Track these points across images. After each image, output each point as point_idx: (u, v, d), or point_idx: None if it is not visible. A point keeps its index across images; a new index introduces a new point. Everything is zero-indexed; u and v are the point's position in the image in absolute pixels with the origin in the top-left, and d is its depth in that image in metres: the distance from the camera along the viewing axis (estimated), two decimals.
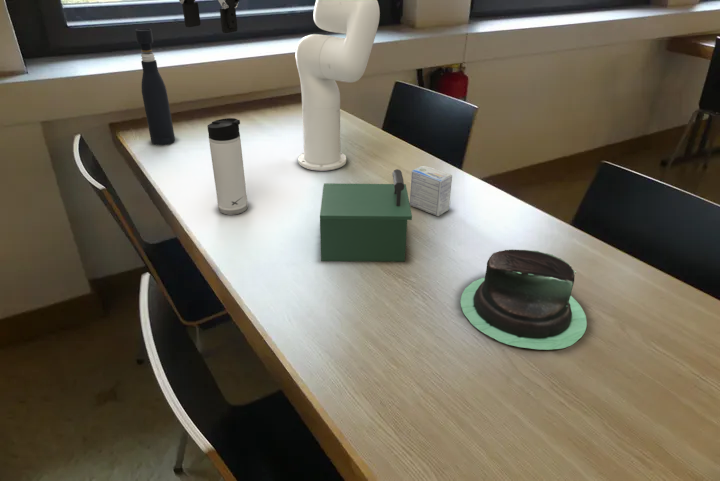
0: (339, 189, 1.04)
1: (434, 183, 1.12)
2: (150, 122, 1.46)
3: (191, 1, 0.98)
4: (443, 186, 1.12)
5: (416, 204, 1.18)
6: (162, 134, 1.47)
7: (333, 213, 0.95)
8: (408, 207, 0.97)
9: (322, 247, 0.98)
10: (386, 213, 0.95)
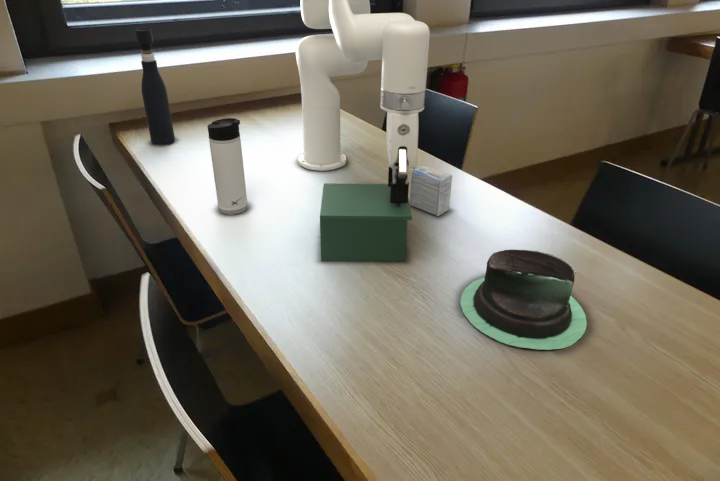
0: (339, 189, 1.04)
1: (434, 183, 1.12)
2: (150, 122, 1.46)
3: None
4: (443, 186, 1.12)
5: (416, 204, 1.18)
6: (162, 134, 1.47)
7: (333, 213, 0.95)
8: (408, 207, 0.97)
9: (322, 247, 0.98)
10: (386, 213, 0.95)
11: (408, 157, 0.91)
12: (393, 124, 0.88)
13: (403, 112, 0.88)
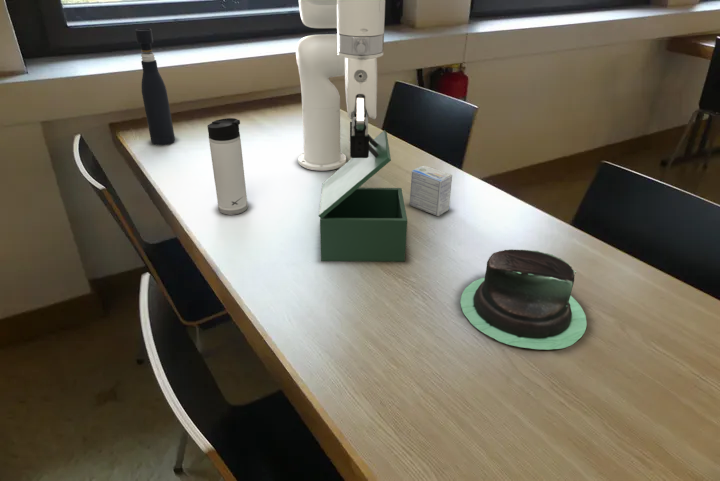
0: (333, 179, 1.02)
1: (434, 183, 1.12)
2: (150, 122, 1.46)
3: None
4: (443, 186, 1.12)
5: (416, 204, 1.18)
6: (162, 134, 1.47)
7: (328, 205, 0.94)
8: (385, 151, 0.92)
9: (322, 247, 0.98)
10: (368, 171, 0.91)
11: (366, 106, 0.86)
12: (349, 69, 0.84)
13: (360, 57, 0.83)
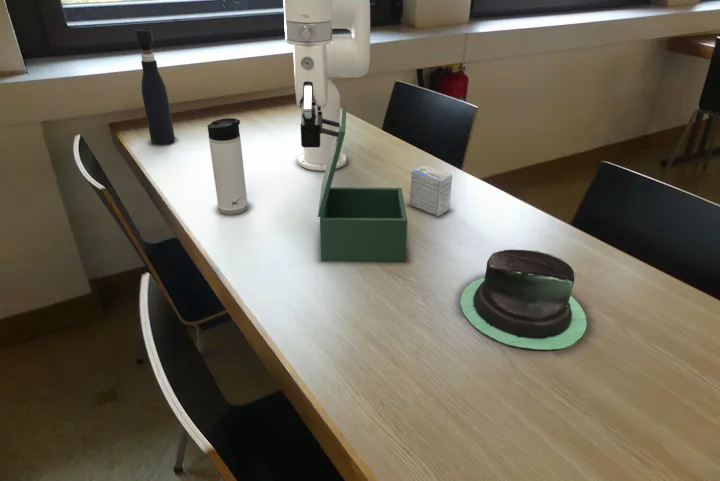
0: (324, 176, 1.02)
1: (434, 183, 1.12)
2: (150, 122, 1.46)
3: (313, 110, 0.95)
4: (443, 186, 1.12)
5: (416, 204, 1.18)
6: (162, 134, 1.47)
7: (321, 202, 0.94)
8: (340, 126, 0.89)
9: (322, 247, 0.98)
10: (334, 153, 0.89)
11: (315, 94, 0.85)
12: (296, 56, 0.83)
13: (306, 44, 0.82)
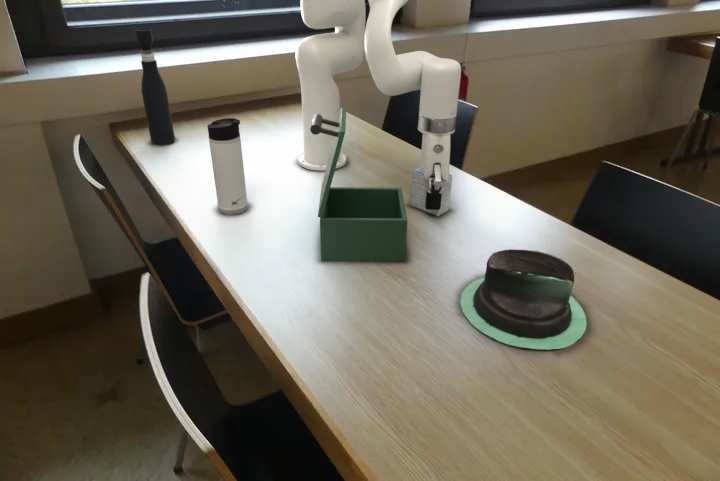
0: (324, 176, 1.02)
1: None
2: (150, 122, 1.46)
3: None
4: (443, 186, 1.12)
5: (416, 204, 1.18)
6: (162, 134, 1.47)
7: (321, 202, 0.94)
8: (340, 126, 0.89)
9: (322, 247, 0.98)
10: (334, 153, 0.89)
11: (442, 168, 1.08)
12: (429, 144, 1.06)
13: (438, 134, 1.06)
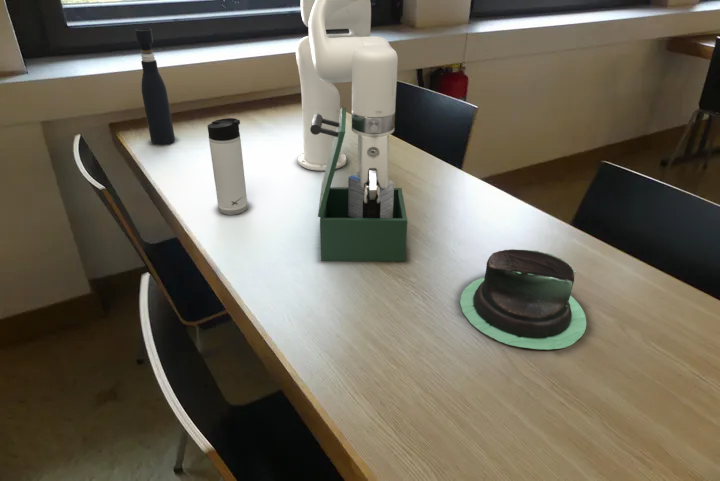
0: (324, 176, 1.02)
1: None
2: (150, 122, 1.46)
3: None
4: (382, 195, 0.96)
5: (355, 215, 1.02)
6: (162, 134, 1.47)
7: (321, 202, 0.94)
8: (340, 126, 0.89)
9: (322, 247, 0.98)
10: (334, 153, 0.89)
11: (378, 174, 0.92)
12: (363, 146, 0.90)
13: (373, 135, 0.90)
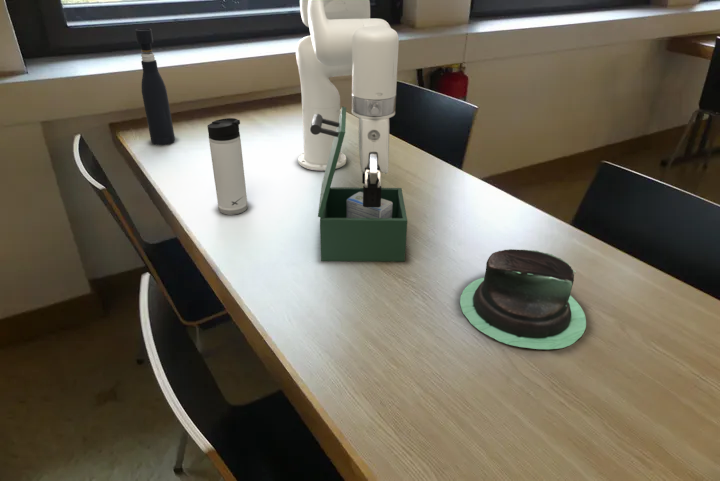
0: (324, 176, 1.02)
1: (373, 213, 0.98)
2: (150, 122, 1.46)
3: None
4: (383, 216, 0.98)
5: None
6: (162, 134, 1.47)
7: (321, 202, 0.94)
8: (340, 126, 0.89)
9: (322, 247, 0.98)
10: (334, 153, 0.89)
11: (379, 157, 0.91)
12: (363, 129, 0.89)
13: (373, 118, 0.88)
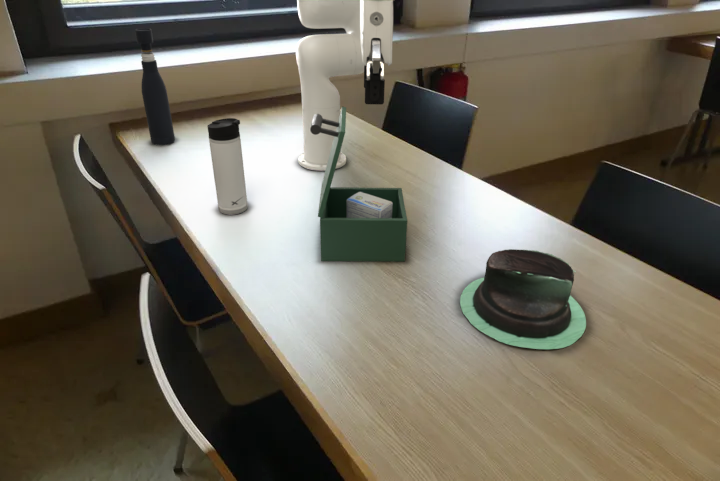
0: (324, 176, 1.02)
1: (373, 213, 0.98)
2: (150, 122, 1.46)
3: None
4: (383, 216, 0.98)
5: None
6: (162, 134, 1.47)
7: (321, 202, 0.94)
8: (340, 126, 0.89)
9: (322, 247, 0.98)
10: (334, 153, 0.89)
11: (382, 44, 0.84)
12: (365, 12, 0.82)
13: None
